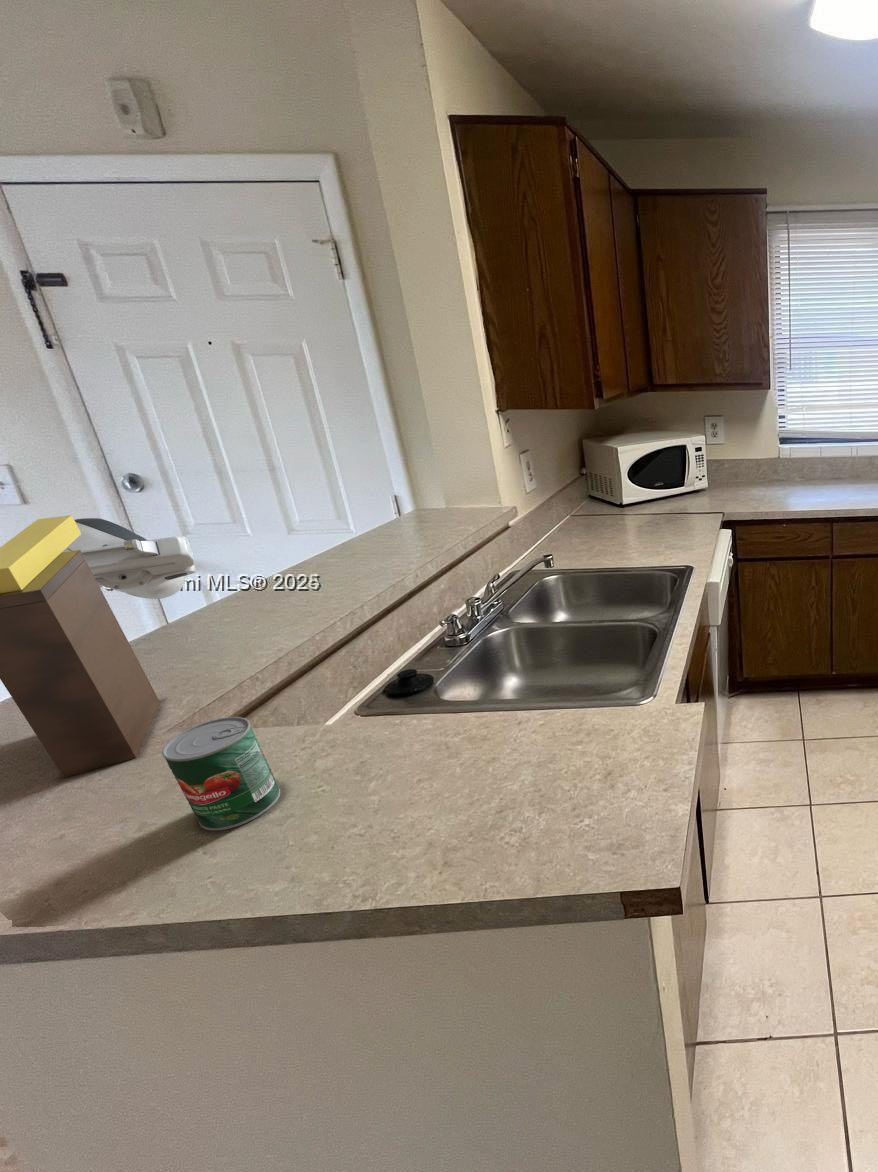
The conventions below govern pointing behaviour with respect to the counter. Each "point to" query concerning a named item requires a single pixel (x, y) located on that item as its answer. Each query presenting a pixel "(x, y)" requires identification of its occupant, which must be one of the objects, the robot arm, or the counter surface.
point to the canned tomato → (222, 772)
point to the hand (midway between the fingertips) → (89, 550)
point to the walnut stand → (73, 669)
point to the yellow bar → (34, 550)
